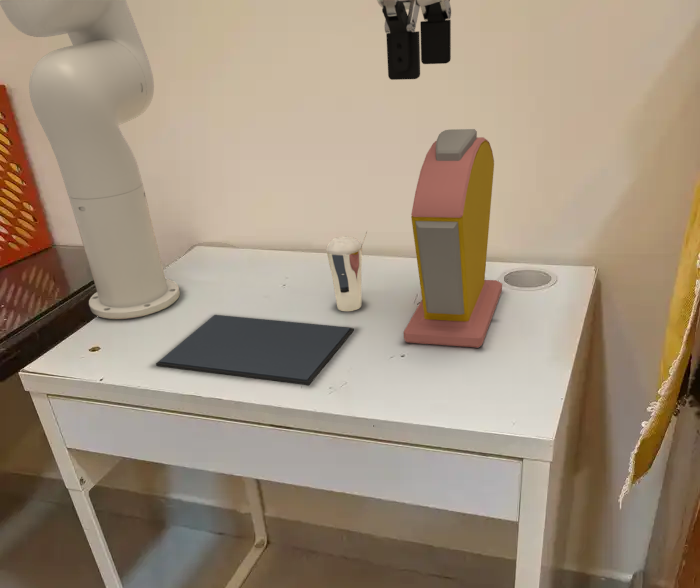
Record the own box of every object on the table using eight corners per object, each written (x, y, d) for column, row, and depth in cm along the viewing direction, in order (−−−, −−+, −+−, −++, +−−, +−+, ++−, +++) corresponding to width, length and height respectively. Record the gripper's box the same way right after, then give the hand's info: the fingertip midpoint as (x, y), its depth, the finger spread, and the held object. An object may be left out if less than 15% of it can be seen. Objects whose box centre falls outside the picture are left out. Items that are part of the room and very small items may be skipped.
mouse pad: (156, 365, 86) (155, 362, 86) (214, 317, 96) (213, 313, 96) (308, 385, 79) (308, 381, 79) (354, 330, 90) (353, 326, 89)
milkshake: (369, 314, 93) (363, 237, 87) (328, 313, 94) (321, 237, 88) (375, 299, 97) (370, 225, 91) (336, 299, 98) (329, 225, 92)
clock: (437, 281, 100) (436, 111, 88) (505, 284, 97) (513, 110, 85) (397, 354, 83) (389, 157, 71) (477, 360, 81) (483, 157, 68)
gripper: (410, -133, 73) (415, 59, 83) (338, -141, 61) (354, 86, 71) (482, -144, 70) (478, 57, 80) (423, -154, 58) (427, 85, 68)
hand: (420, 70), depth 75 cm, fingers open, 9 cm apart
